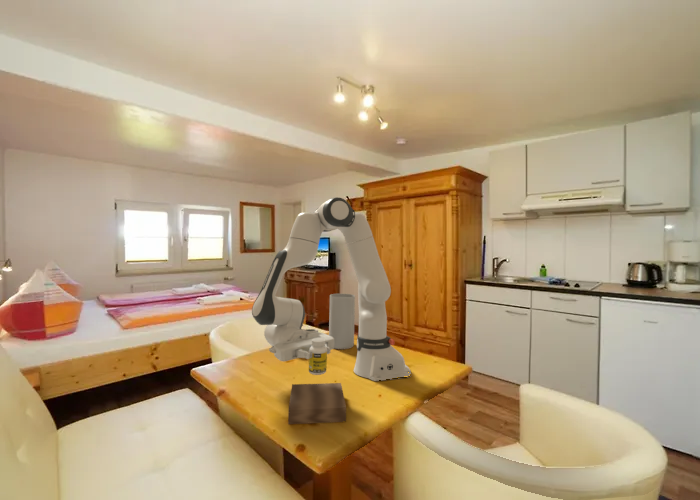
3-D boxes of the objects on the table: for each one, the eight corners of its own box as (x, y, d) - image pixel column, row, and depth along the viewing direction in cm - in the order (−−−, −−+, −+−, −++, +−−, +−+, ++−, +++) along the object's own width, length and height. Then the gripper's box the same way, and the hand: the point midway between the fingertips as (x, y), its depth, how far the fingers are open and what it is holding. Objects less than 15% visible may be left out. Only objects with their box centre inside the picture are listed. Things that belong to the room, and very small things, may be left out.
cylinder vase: (357, 343, 161) (358, 294, 161) (348, 351, 149) (349, 298, 149) (334, 340, 165) (335, 293, 165) (324, 347, 154) (325, 296, 153)
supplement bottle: (311, 376, 93) (312, 343, 92) (306, 369, 98) (307, 338, 97) (329, 374, 95) (329, 341, 95) (323, 367, 100) (323, 336, 100)
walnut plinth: (340, 395, 105) (341, 383, 105) (345, 421, 89) (346, 407, 89) (291, 396, 103) (292, 384, 103) (288, 424, 87) (288, 409, 87)
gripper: (266, 338, 99) (290, 350, 88) (319, 328, 112) (345, 337, 102) (266, 358, 99) (289, 372, 89) (319, 345, 112) (344, 356, 102)
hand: (319, 353), depth 95 cm, fingers closed on supplement bottle, 5 cm apart
